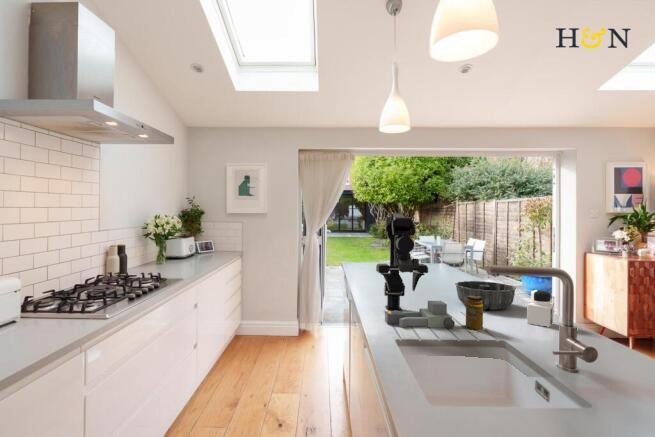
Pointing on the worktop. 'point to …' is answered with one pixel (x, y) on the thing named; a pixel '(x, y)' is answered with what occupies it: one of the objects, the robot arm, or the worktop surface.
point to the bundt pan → (487, 293)
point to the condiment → (474, 314)
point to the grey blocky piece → (429, 316)
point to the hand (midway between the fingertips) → (401, 290)
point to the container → (540, 309)
